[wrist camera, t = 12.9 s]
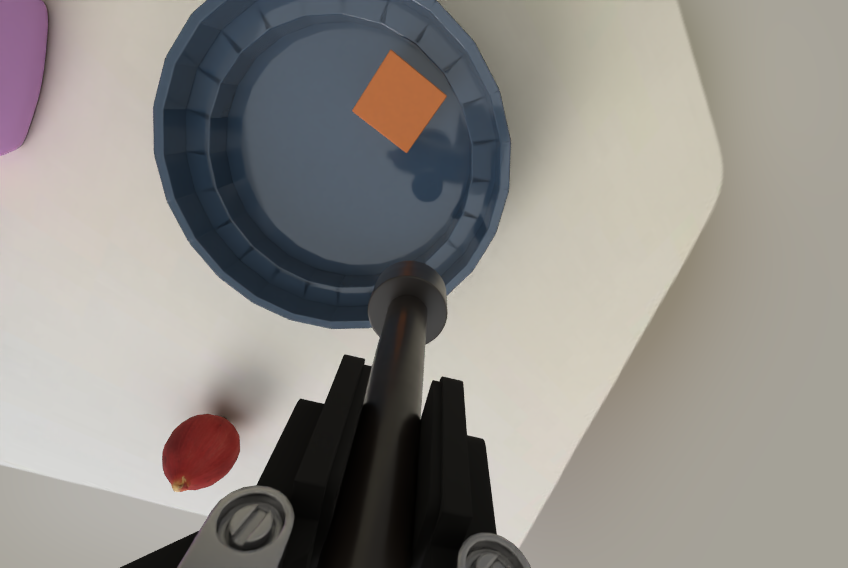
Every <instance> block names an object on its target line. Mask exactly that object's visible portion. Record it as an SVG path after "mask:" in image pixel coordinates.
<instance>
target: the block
mask: <svg viewBox="0 0 848 568" xmlns="http://www.w3.org/2000/svg"><path fill="white" fill-rule="evenodd" d="M446 97H447V95H446V94H444V93H443V92H442V91H441V90H440V89H438V88H437V87H436V86H435V85H434V84H432V83H431V82H430V81H429V80H428V79H426V78H425V77H424V76H423V75H421V74H420V73H419V72H418V71H417V70H415V69H414V68H413V67H412V66H411V65H409V64H408V63H407V62H406V61H405V60H403V59H402V58H401V57H400V56H398V55H397V54H396V53H395V52H394V51H392V50H390V51H389V53H388V54H387V56H386V57H385V59H384V61H383V62H382V64H381V65H380V67H379V68H378V70H377V72H376V73H375V75H374V76H373V78H372V80H371V81H370V83H369V84H368V86H367V88H366V89H365V91H364V92H363V94H362V96H361V97H360V99H359V100H358V102H357V103H356V105H355V107H354V108H353V110H352V111H353V112H354V113H355V114H356V115H358V116H359V117H360V118H361V119H363V120H364V121H365V122H367V123H368V124H369V125H371V126H372V127H373V128H374V129H376V130H377V131H378V132H380V133H381V134H382V135H383V136H385V137H386V138H387V139H389V140H390V141H391V142H393V143H394V144H395V145H396V146H398V147H399V148H400V149H402V150H403V151H404V152H405V153H408V151H409V150H410V148H411V147H412V145H413V144H414V143H415V141H416V140H417V138H418V137H419V135H420V134H421V133H422V131H423V130H424V128H425V127H426V125H427V124H428V123H429V121H430V120H431V118H432V117H433V116H434V114H435V113H436V111H437V110H438V108H439V107H440V106H441V104H442V103H443V101H444V100H445V98H446Z"/></svg>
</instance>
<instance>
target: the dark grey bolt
mask: <svg viewBox="0 0 848 568" xmlns="http://www.w3.org/2000/svg"><path fill="white" fill-rule="evenodd" d="M368 318H369V321H370V324H371V326H372V328H373V330H374V331H375V332H376V334H377V335H378V336H379V337H380V339H379V342H378V346H377V350H376V353H375V357H374V361H373V364H372V368H371V372H370V377H369V381H368V386H367V390H366V394H365V399H364V403H363V407H362V411H361V414H360V418H359V422H358V426H357V429H356V433H355V437H354V441H353V444H352V448H351V452H350V455H349V459H348V463H347V467H346V470H345V474H344V478H343V481H342V485H341V489H340V493H339V496H338V500H337V504H336V508H335V511H334V515H333V519H332V522H331V526H330V530H329V534H328V537H327V539H326V541H325V542H324V544H323V547H322V550H321V554H320V557H319V561H318V565H317V568H411V563H412V545H413V529H414V514H415V498H416V483H417V467H418V452H419V436H420V420H421V405H422V389H423V373H424V357H425V344H428V343H429V342H431V341H432V340H434V339H435V338H436V337H437V336H438V335H439V334H440V333H441V331H442V330H443V328H444V326H445V323H446V319H447V294H446V287H445V284H444V281H443V280H442V278H441V276H440V275H439V274H438V273H437V272H436V271H435V270H434V269H433V268H432V267H430V266H428V265H426V264H424V263H421V262H418V261H401V262H398V263H395V264H393V265H391V266H389V267H388V268H386V269H385V270H384V271H383V272H382V273H381V275H380V276H379V278H378V279H377V282H376V284H375V287H374V289H373V292H372V294H371V297H370V300H369V303H368Z"/></svg>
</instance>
